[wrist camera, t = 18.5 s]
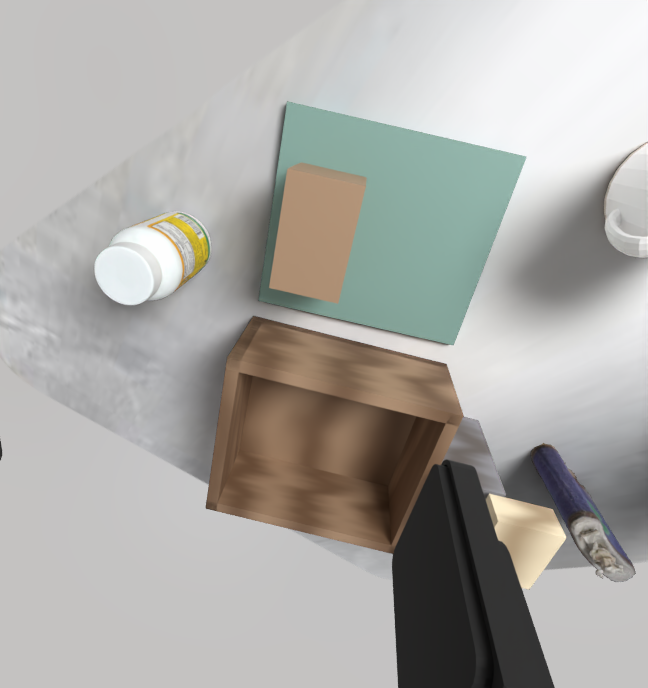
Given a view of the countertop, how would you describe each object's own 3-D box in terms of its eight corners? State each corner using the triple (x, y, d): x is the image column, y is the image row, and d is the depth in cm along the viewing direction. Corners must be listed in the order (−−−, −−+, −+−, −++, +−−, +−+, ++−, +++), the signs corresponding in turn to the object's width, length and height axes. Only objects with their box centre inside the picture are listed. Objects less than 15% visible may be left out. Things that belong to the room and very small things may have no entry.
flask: (593, 497, 44) (654, 598, 35) (565, 509, 45) (617, 610, 36) (550, 438, 42) (603, 530, 32) (521, 451, 43) (565, 544, 33)
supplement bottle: (210, 211, 35) (158, 237, 26) (215, 275, 37) (169, 317, 29) (146, 209, 35) (74, 233, 27) (156, 272, 38) (93, 312, 29)
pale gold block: (552, 509, 33) (566, 537, 30) (518, 559, 35) (529, 589, 33) (489, 493, 33) (498, 521, 30) (460, 545, 35) (466, 574, 33)
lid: (521, 155, 32) (559, 162, 25) (451, 339, 39) (467, 380, 32) (289, 102, 31) (269, 94, 25) (261, 295, 38) (239, 328, 32)
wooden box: (499, 377, 39) (535, 445, 31) (439, 500, 46) (454, 583, 38) (253, 315, 39) (220, 367, 30) (231, 449, 46) (199, 521, 37)
